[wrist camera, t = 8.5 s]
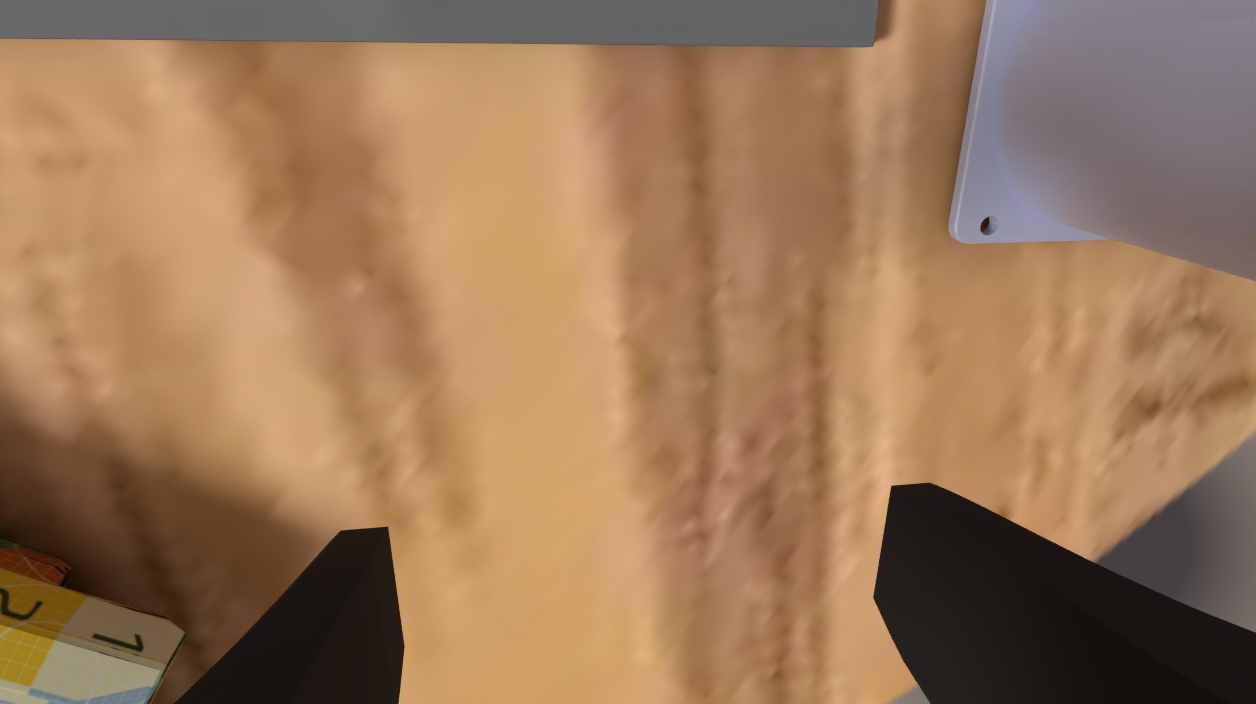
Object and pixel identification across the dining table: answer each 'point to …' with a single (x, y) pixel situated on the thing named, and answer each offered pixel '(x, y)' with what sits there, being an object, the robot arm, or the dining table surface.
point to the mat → (453, 21)
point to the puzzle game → (74, 639)
